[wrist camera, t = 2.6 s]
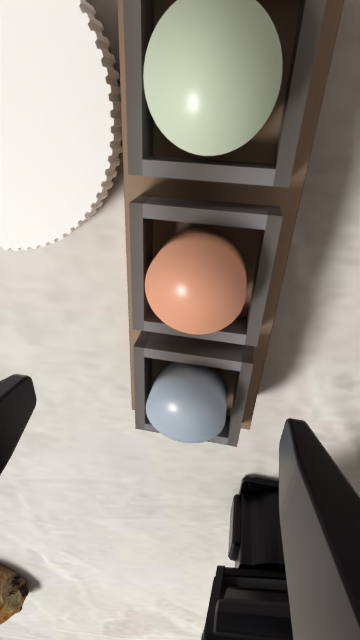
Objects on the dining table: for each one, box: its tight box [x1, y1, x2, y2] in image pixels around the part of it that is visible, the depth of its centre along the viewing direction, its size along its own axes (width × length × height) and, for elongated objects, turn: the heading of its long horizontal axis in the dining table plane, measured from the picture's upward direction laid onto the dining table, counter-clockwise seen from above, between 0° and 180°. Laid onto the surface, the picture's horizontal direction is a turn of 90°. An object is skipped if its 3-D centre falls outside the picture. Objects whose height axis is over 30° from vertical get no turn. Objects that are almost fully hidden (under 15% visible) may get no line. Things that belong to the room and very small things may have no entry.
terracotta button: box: [145, 228, 247, 335], centre depth 16 cm, size 4×4×2 cm
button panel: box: [117, 0, 344, 447], centre depth 18 cm, size 8×22×5 cm, turn 177°
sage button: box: [143, 0, 282, 156], centre depth 12 cm, size 4×4×2 cm
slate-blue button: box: [146, 362, 228, 443], centre depth 19 cm, size 4×4×2 cm
